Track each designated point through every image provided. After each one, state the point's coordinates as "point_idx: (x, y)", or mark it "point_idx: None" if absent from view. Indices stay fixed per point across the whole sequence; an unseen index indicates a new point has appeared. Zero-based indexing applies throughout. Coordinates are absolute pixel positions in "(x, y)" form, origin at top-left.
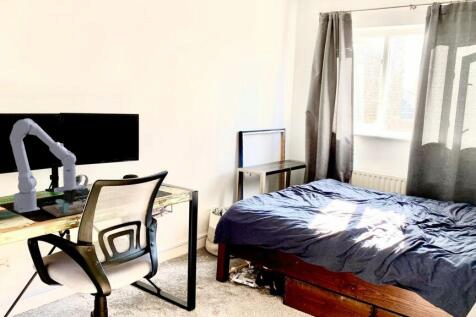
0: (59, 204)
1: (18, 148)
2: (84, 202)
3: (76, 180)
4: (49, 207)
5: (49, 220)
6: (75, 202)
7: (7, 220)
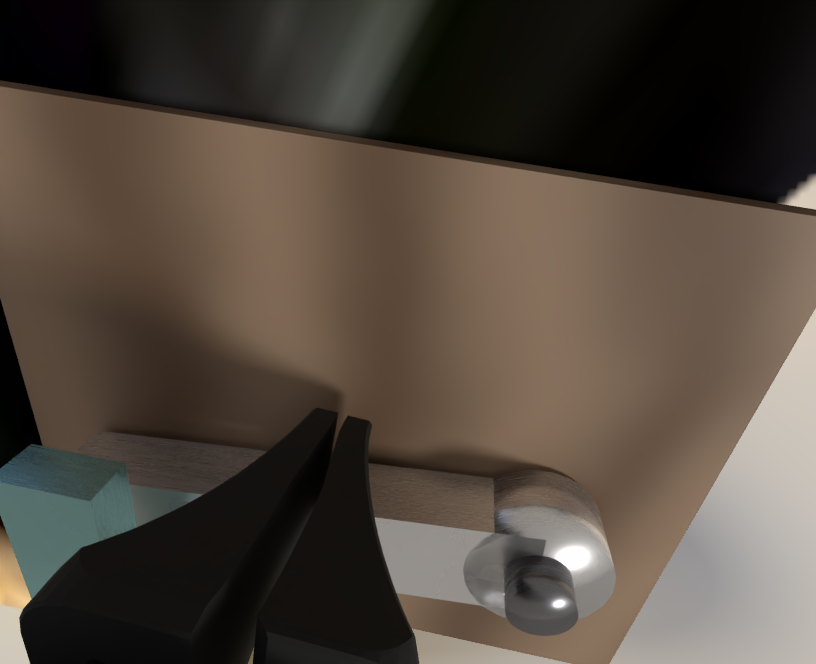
0: (268, 163)
1: None
2: (498, 614)
3: None
4: (50, 218)
5: (4, 553)
6: (391, 532)
7: None
